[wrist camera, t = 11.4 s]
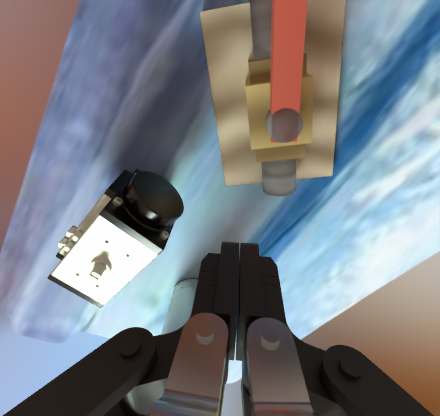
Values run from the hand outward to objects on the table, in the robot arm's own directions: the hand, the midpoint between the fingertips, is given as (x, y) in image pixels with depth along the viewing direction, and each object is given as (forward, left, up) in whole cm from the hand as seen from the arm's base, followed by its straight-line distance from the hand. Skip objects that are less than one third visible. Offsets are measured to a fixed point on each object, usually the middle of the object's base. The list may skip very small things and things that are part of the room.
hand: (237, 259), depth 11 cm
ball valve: (-10, +17, -29) cm, 35 cm away
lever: (+7, -4, -19) cm, 21 cm away
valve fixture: (+1, -4, -28) cm, 29 cm away
